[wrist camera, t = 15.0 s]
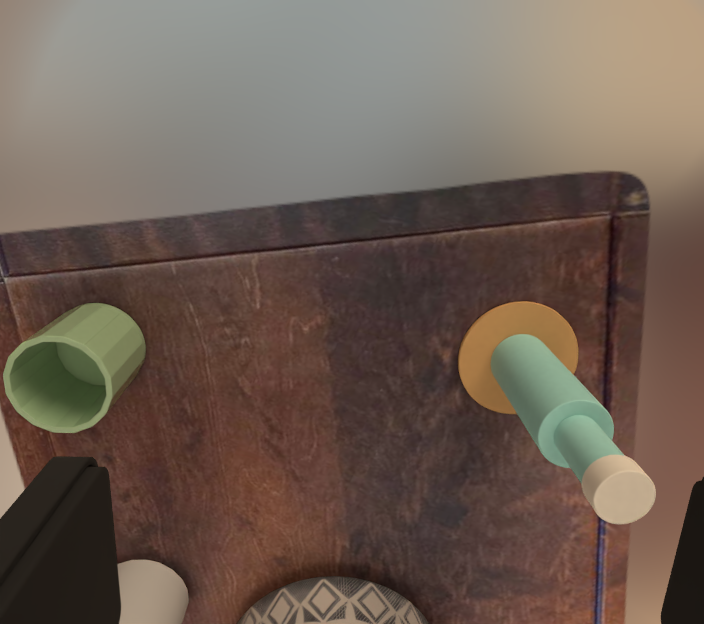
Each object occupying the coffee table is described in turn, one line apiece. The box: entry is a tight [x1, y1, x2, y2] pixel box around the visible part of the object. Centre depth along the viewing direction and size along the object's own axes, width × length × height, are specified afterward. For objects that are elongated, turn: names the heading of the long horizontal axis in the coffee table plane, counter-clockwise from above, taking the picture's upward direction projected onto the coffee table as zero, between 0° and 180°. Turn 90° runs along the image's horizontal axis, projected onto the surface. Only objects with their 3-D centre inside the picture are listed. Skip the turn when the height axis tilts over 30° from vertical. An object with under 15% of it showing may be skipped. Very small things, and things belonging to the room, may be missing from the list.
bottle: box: [490, 334, 656, 524], centre depth 36 cm, size 4×4×17 cm
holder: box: [3, 303, 146, 433], centre depth 40 cm, size 7×7×7 cm
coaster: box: [458, 301, 578, 414], centre depth 44 cm, size 9×9×1 cm
